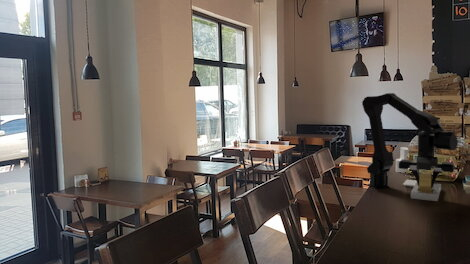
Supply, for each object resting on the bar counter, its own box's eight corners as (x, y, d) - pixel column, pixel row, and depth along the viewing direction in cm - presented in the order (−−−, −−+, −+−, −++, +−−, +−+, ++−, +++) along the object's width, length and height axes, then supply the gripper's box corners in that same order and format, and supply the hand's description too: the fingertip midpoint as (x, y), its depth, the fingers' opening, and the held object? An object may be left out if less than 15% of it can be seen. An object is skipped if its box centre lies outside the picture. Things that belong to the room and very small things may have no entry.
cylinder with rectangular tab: (417, 173, 184) (417, 149, 182) (397, 173, 185) (398, 149, 184) (412, 169, 192) (412, 147, 191) (393, 169, 194) (394, 147, 193)
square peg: (430, 198, 141) (431, 175, 140) (419, 196, 143) (419, 174, 142) (431, 195, 144) (432, 173, 144) (420, 194, 147) (420, 172, 146)
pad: (428, 188, 156) (428, 186, 155) (403, 185, 161) (403, 184, 161) (430, 182, 164) (430, 181, 164) (406, 180, 169) (406, 179, 169)
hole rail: (437, 201, 137) (437, 194, 137) (410, 198, 142) (410, 191, 141) (440, 190, 152) (440, 184, 152) (416, 187, 157) (416, 181, 156)
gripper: (396, 149, 140) (396, 189, 142) (453, 152, 130) (452, 195, 132) (401, 145, 150) (400, 183, 151) (454, 147, 140) (453, 188, 141)
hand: (425, 187), depth 143 cm, fingers closed on square peg, 4 cm apart
